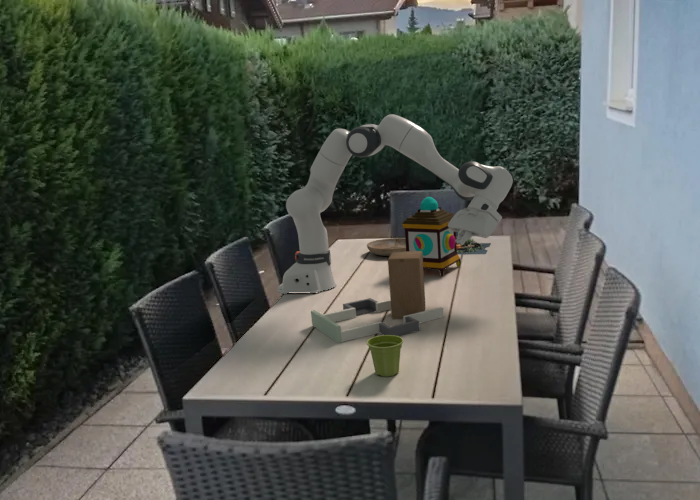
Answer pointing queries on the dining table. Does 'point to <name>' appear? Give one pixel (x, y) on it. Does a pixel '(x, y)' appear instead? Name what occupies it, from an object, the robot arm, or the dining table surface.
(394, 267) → the wooden block
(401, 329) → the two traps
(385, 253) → the ceramic bowl
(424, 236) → the decorative lantern
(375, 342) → the plant pot
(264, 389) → the dining table surface
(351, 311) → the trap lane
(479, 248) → the plated dish
